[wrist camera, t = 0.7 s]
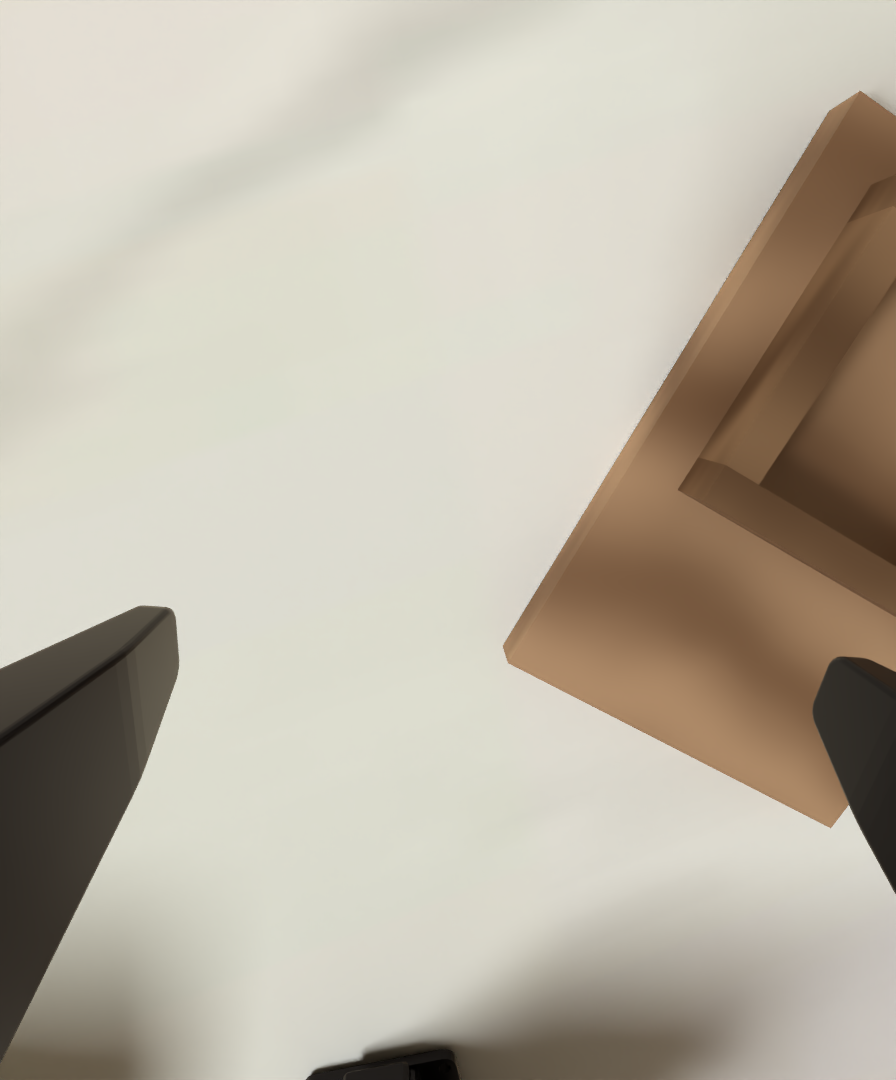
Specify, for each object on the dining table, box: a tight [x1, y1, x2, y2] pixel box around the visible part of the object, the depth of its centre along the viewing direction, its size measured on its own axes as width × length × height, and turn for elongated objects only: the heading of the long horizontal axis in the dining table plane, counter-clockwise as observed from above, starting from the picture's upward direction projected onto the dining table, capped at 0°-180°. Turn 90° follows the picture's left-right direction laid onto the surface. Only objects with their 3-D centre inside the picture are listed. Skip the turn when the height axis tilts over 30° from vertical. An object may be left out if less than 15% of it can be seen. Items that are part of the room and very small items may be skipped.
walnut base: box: [503, 91, 896, 828], centre depth 22 cm, size 20×14×4 cm
